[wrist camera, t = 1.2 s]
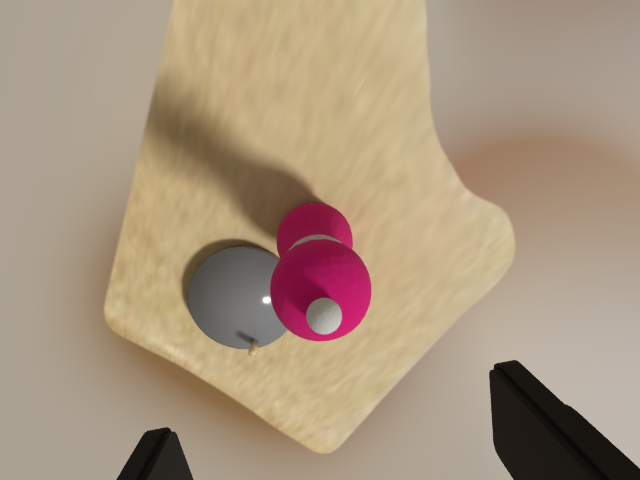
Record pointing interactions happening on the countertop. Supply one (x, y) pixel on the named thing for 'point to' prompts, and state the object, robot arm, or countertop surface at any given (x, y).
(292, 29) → the countertop surface
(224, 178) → the countertop surface
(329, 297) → the pepper mill
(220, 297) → the grey flat disc
